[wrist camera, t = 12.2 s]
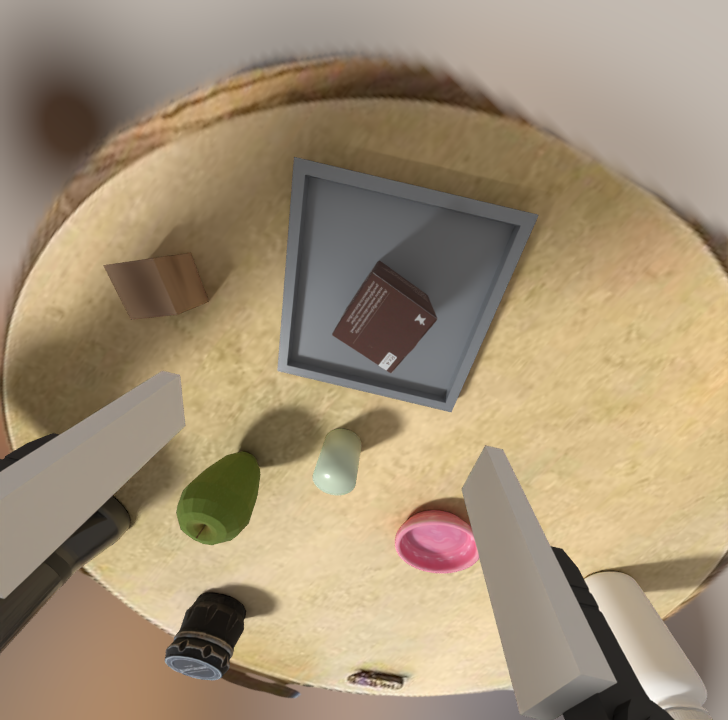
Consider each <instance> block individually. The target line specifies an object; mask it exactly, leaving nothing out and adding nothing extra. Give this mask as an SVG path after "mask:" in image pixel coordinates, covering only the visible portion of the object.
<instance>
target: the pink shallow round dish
mask: <svg viewBox="0 0 728 720" xmlns="http://www.w3.org/2000/svg"><path fill="white" fill-rule="evenodd" d="M395 548H396V551H397V553H398V555H399V556H400V557H401V558H402V559H403V560H404V561H405V562H406V563H408V564H409V565H411V566H413V567H415V568H417V569H419V570H423V571H427V572H432V573H451V572H457V571H461V570H464V569H466V568H468V567H470V566H472V565H473V564H475V563H476V562H477V561H478V559H479V554H478V551H477V547H476V543H475V539H474V535H473V531H472V527H471V526H470V525H468V524H467V523H466V522H465V521H463V520H461V519H460V518H459V517H458V516H456V515H454V514H452V513H449V512H446V511H440V510H428V511H423V512H419V513H417V514H415V515H413V516H411V517H410V518H409V519H408V520H407V521H406V522H405V523H404V524H403V525H402V526H401V527H400V528H399V530H398V531H397V534H396V537H395Z"/></svg>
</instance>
